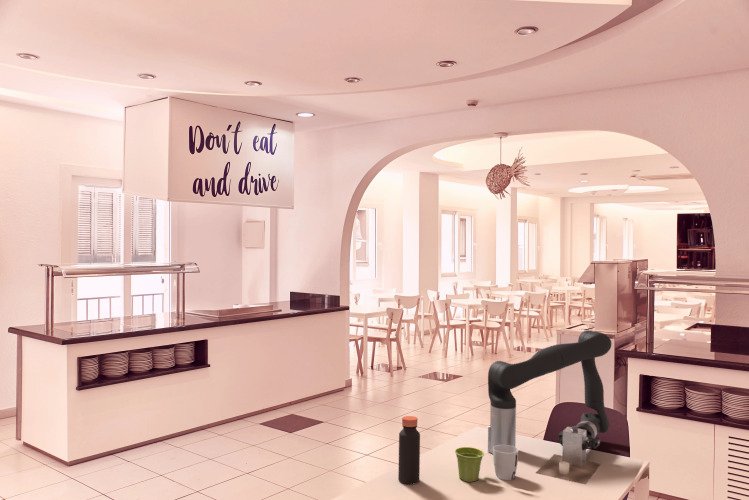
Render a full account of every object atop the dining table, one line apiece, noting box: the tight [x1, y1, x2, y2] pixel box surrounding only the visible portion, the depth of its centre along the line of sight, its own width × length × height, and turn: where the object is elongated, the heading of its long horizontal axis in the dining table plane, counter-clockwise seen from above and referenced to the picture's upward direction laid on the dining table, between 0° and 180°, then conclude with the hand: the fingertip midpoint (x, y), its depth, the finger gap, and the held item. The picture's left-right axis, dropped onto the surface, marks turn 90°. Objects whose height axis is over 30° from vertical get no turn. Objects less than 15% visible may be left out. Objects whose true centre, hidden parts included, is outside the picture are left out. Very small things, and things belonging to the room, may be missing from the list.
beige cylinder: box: [559, 461, 569, 476], centre depth 188 cm, size 3×3×4 cm
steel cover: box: [561, 425, 587, 467], centre depth 199 cm, size 6×6×12 cm
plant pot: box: [454, 446, 485, 483], centre depth 185 cm, size 9×9×9 cm
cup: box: [492, 445, 519, 481], centre depth 184 cm, size 8×8×10 cm
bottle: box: [397, 415, 421, 485], centre depth 182 cm, size 7×7×20 cm
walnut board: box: [535, 453, 601, 485], centre depth 193 cm, size 16×22×1 cm
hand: (572, 445), depth 197 cm, fingers closed on steel cover, 6 cm apart
